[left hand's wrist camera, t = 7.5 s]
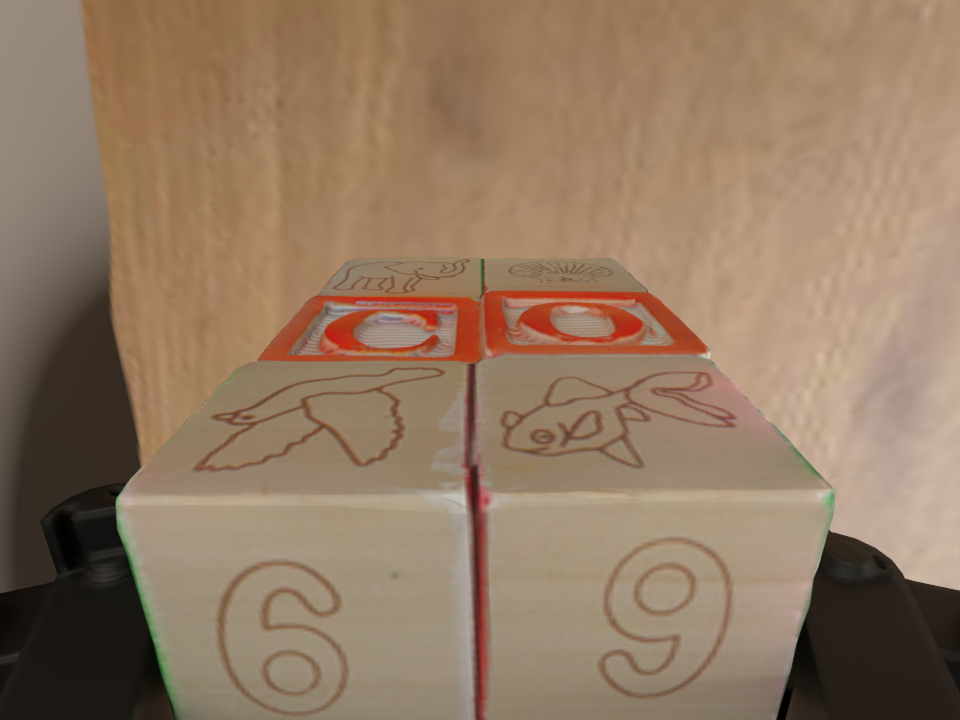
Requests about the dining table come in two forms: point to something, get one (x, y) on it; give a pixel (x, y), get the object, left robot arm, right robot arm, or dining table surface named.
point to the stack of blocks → (477, 511)
